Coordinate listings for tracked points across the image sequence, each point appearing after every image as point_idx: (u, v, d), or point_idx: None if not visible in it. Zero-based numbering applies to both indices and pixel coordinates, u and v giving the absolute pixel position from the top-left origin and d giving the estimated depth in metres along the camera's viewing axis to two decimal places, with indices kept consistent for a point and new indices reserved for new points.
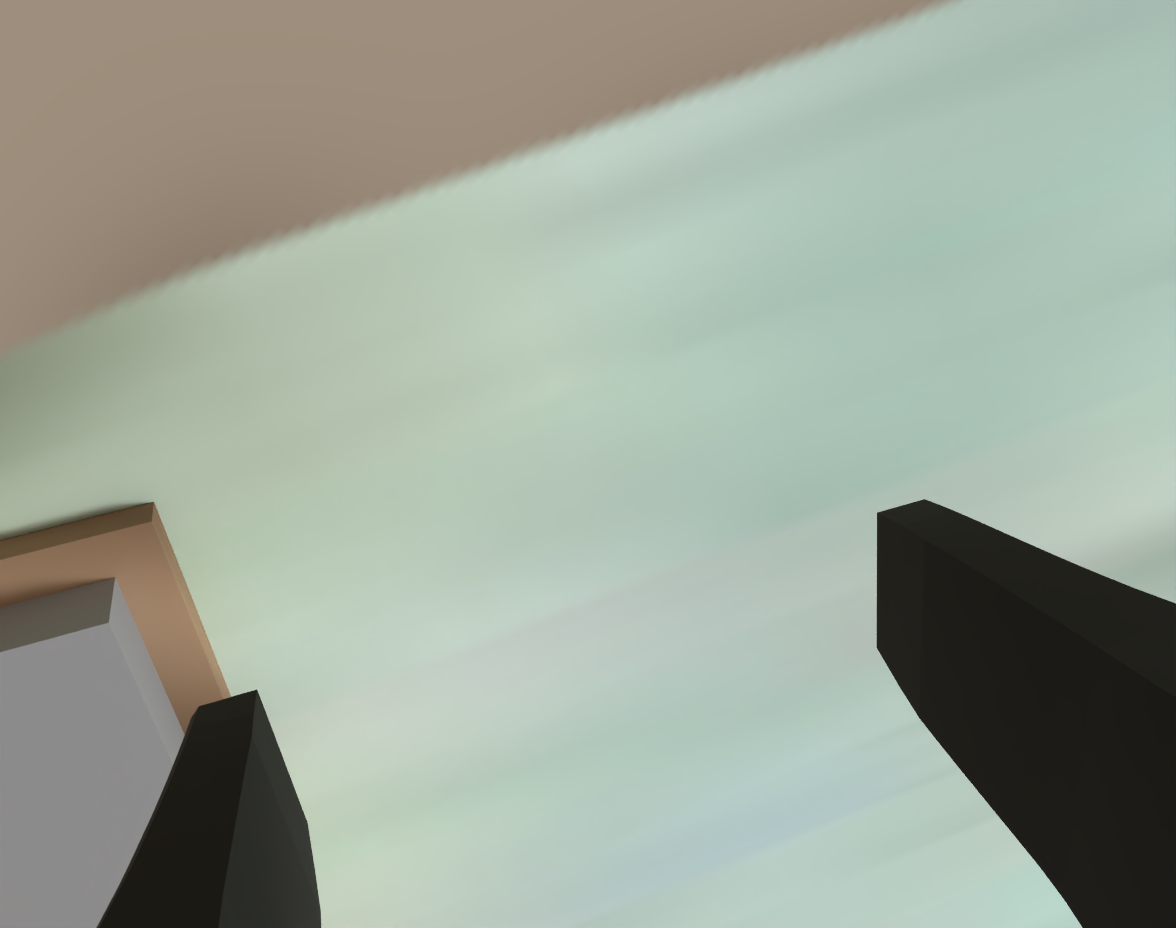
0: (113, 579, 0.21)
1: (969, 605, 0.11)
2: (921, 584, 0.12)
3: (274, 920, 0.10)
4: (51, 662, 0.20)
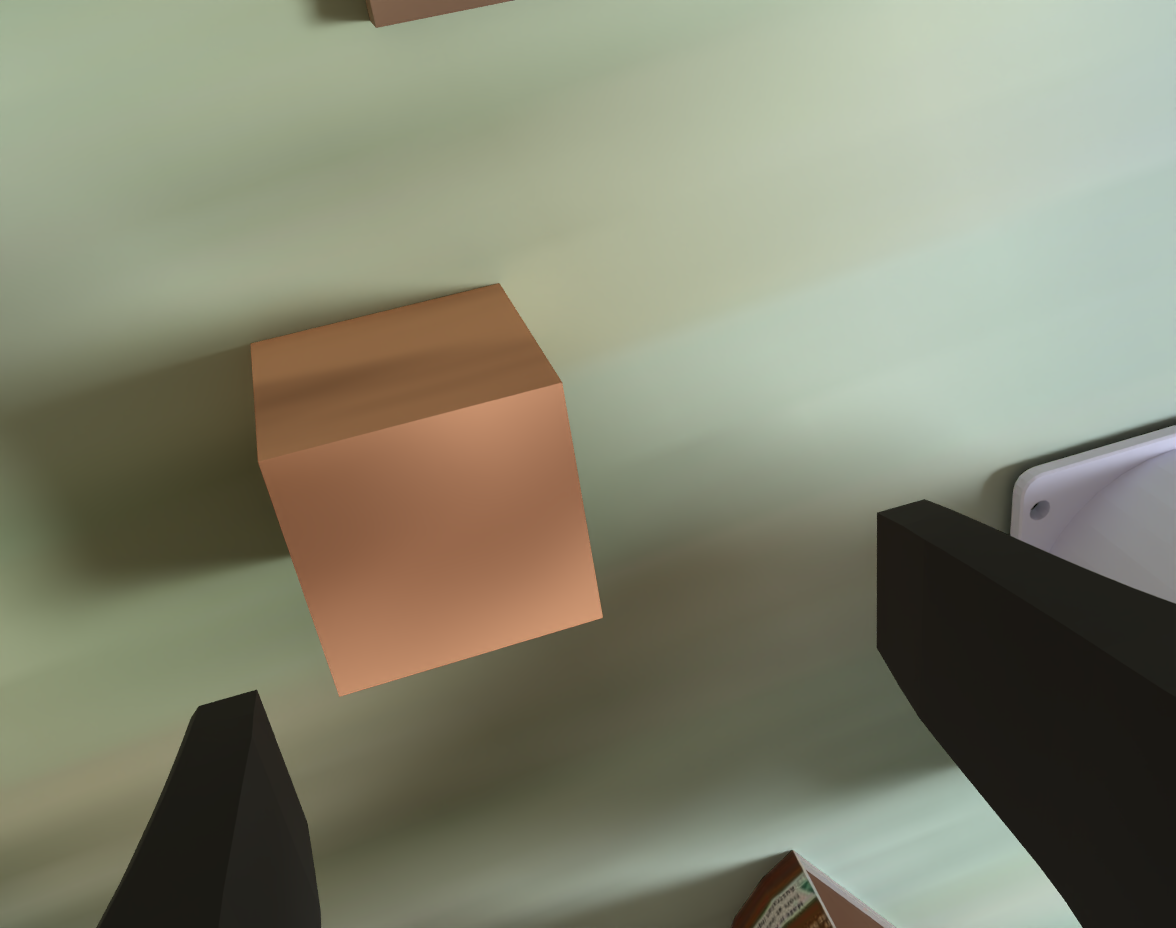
0: None
1: (969, 605, 0.11)
2: (921, 584, 0.12)
3: (274, 919, 0.10)
4: None
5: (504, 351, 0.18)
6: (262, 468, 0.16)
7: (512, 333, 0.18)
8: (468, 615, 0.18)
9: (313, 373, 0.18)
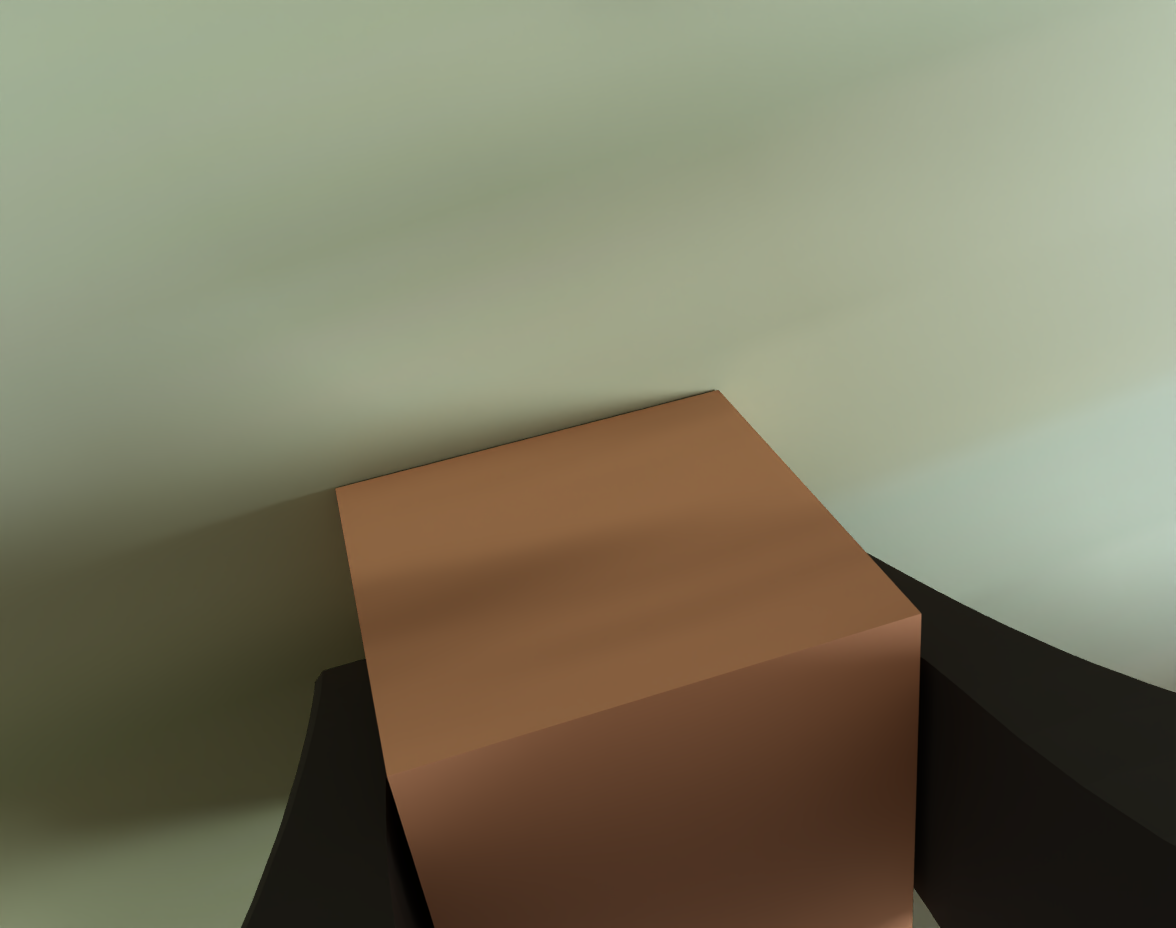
0: None
1: None
2: None
3: (415, 874, 0.10)
4: None
5: (782, 534, 0.10)
6: (394, 787, 0.09)
7: (782, 495, 0.11)
8: None
9: (454, 561, 0.11)
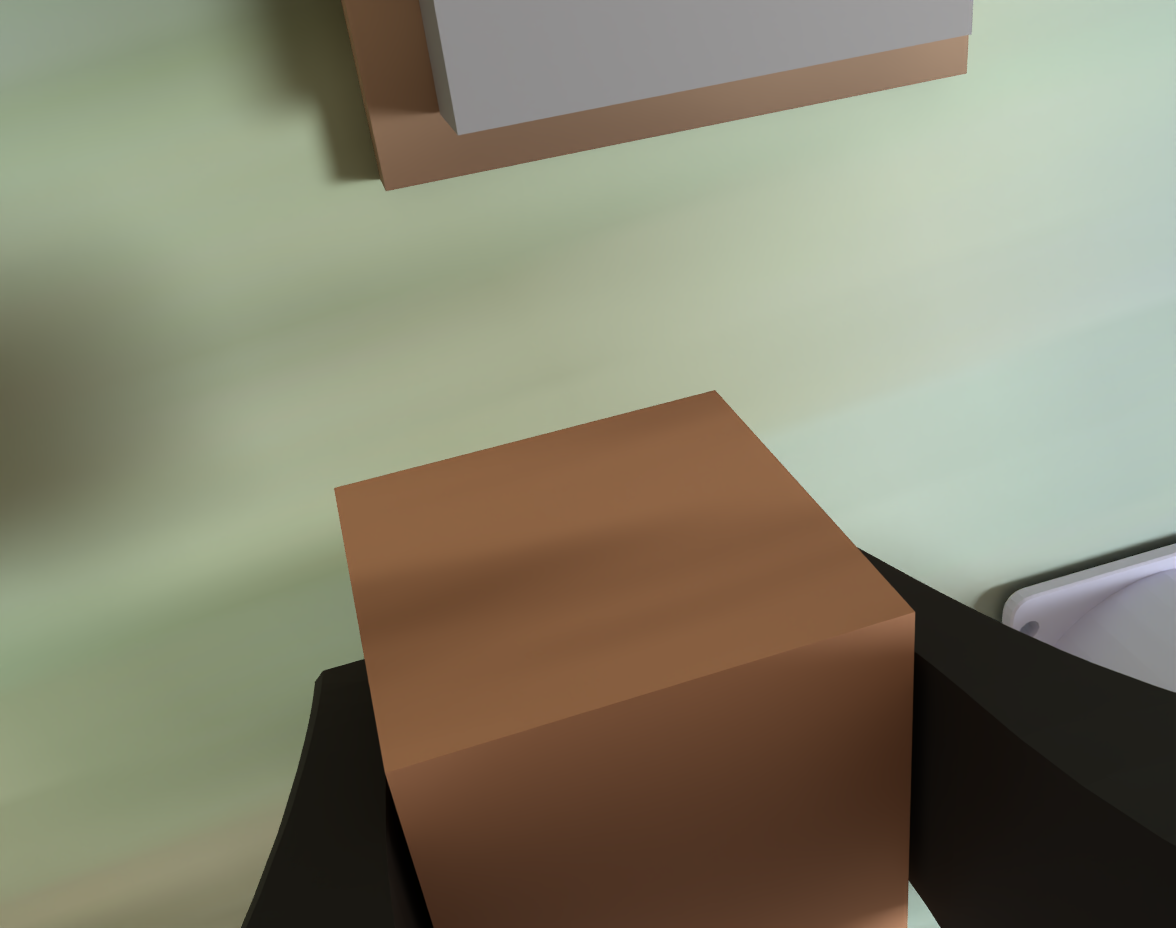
0: None
1: None
2: None
3: (415, 874, 0.10)
4: None
5: (778, 534, 0.11)
6: (392, 784, 0.09)
7: (777, 494, 0.11)
8: None
9: (450, 560, 0.11)
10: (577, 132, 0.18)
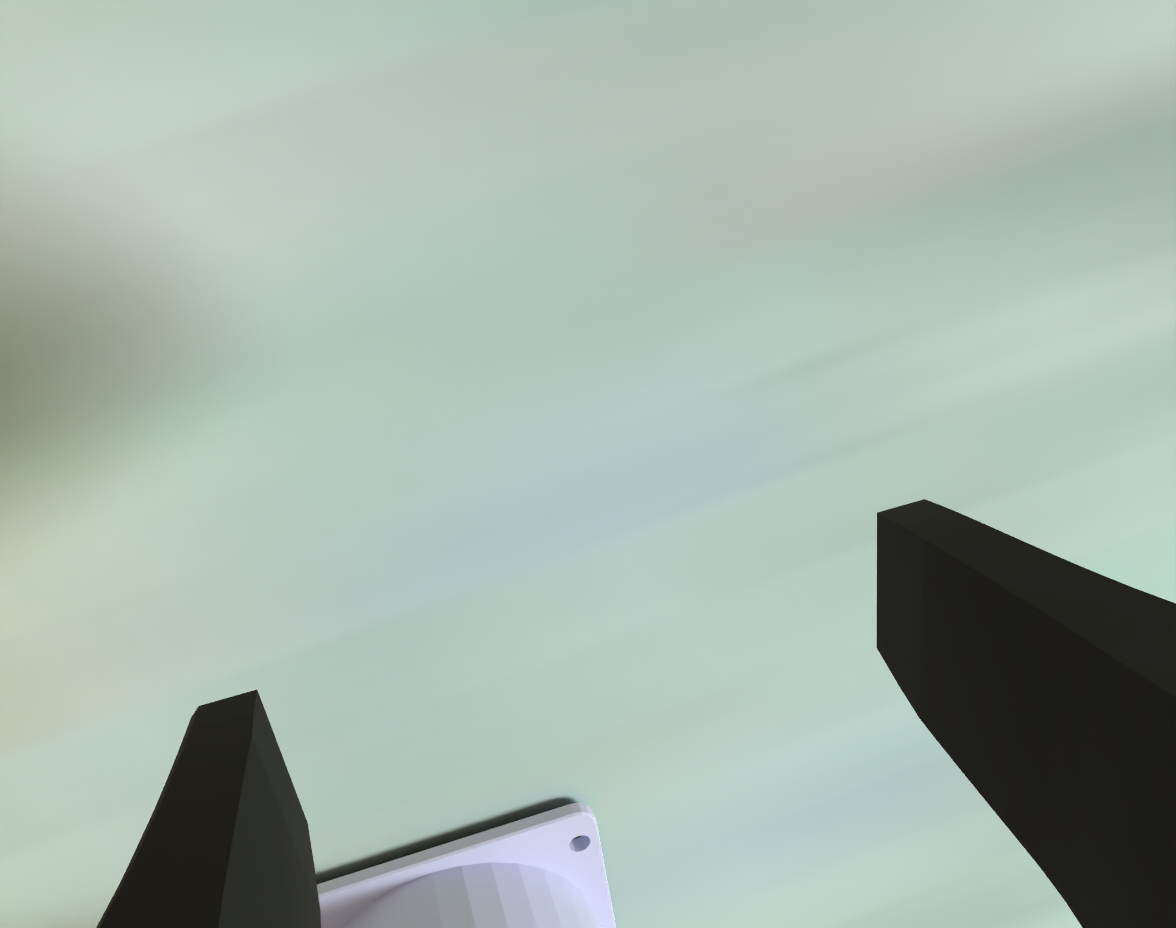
0: None
1: (969, 605, 0.11)
2: (921, 584, 0.12)
3: (274, 919, 0.10)
4: None
5: None
6: None
7: None
8: None
9: None
10: None
